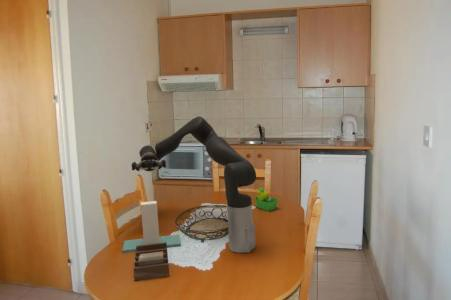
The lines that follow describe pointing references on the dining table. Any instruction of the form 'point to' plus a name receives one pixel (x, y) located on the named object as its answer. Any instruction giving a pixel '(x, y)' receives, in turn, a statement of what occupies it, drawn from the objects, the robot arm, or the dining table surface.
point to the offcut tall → (150, 261)
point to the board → (131, 244)
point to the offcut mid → (151, 255)
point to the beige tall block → (150, 222)
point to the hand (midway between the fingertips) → (148, 167)
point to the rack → (151, 270)
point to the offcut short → (151, 253)
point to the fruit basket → (265, 200)
